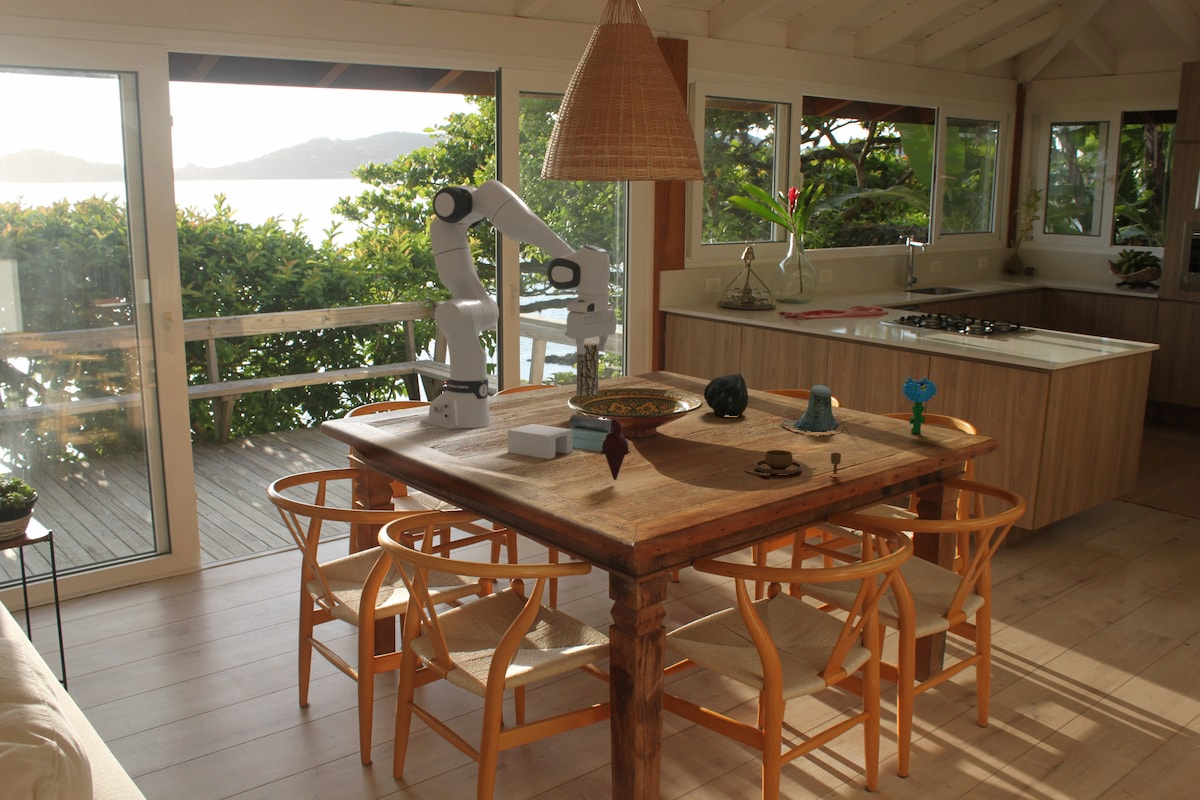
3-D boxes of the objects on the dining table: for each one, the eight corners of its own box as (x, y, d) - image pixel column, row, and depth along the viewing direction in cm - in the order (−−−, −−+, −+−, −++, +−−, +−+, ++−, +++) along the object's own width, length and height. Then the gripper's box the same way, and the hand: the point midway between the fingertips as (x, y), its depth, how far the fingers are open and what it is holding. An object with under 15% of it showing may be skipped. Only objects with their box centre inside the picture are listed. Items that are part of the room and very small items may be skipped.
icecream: (597, 477, 256) (598, 417, 254) (626, 476, 257) (627, 417, 255) (602, 484, 249) (603, 423, 247) (632, 482, 251) (633, 422, 248)
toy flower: (927, 436, 309) (931, 377, 306) (935, 443, 300) (939, 382, 297) (897, 436, 310) (900, 376, 307) (904, 442, 301) (908, 381, 298)
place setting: (782, 461, 277) (783, 440, 276) (844, 476, 262) (845, 453, 261) (738, 471, 266) (739, 449, 265) (799, 487, 251) (800, 463, 250)
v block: (564, 446, 290) (564, 430, 290) (588, 438, 300) (588, 423, 300) (600, 451, 284) (600, 435, 283) (623, 444, 294) (623, 428, 293)
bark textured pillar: (595, 423, 323) (596, 344, 318) (574, 422, 324) (574, 343, 320) (599, 419, 329) (600, 341, 325) (579, 418, 330) (579, 340, 326)
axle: (569, 429, 294) (569, 416, 293) (577, 426, 297) (577, 412, 296) (611, 435, 286) (610, 421, 285) (618, 432, 289) (618, 418, 289)
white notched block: (507, 452, 282) (507, 429, 281) (531, 445, 291) (531, 423, 290) (549, 459, 274) (549, 436, 273) (572, 451, 283) (572, 429, 282)
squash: (740, 414, 340) (742, 369, 338) (753, 423, 326) (755, 376, 323) (698, 415, 339) (699, 370, 336) (709, 424, 324) (710, 377, 321)
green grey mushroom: (832, 421, 326) (846, 374, 316) (846, 459, 309) (860, 410, 300) (775, 417, 325) (787, 369, 315) (785, 455, 308) (798, 405, 298)
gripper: (604, 301, 302) (602, 347, 305) (563, 305, 285) (561, 354, 288) (622, 303, 299) (620, 350, 301) (582, 307, 282) (580, 357, 285)
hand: (591, 352), depth 295 cm, fingers open, 8 cm apart
